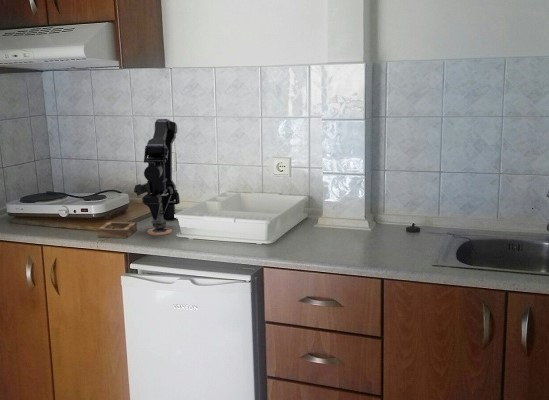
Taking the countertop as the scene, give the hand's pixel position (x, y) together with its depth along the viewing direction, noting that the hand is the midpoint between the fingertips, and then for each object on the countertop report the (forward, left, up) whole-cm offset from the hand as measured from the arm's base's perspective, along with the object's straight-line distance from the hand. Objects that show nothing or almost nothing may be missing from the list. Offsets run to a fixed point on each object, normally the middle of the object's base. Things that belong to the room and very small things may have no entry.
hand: (158, 216), depth 232 cm
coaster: (0, 0, -6) cm, 6 cm away
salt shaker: (0, 0, -6) cm, 6 cm away
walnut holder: (+4, -15, -6) cm, 17 cm away
